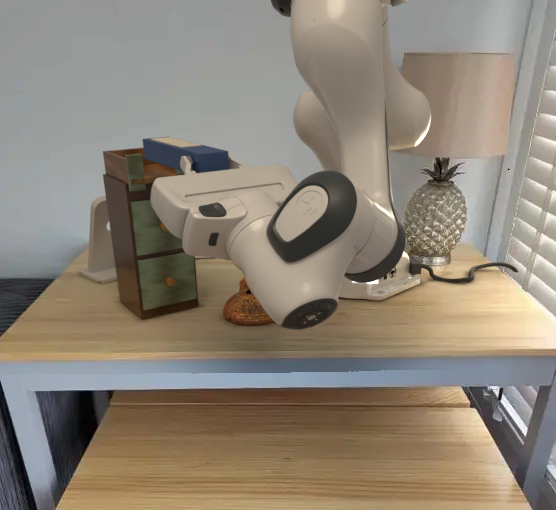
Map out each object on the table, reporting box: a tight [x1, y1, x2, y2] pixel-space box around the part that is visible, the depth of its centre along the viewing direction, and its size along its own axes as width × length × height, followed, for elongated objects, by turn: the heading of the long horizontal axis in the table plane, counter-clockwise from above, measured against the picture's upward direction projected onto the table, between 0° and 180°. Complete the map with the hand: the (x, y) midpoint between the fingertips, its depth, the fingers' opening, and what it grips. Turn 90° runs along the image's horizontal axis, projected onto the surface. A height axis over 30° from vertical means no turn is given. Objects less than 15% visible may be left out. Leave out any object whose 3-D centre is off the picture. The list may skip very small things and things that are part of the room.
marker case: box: [142, 136, 229, 173], centre depth 89 cm, size 4×20×3 cm, turn 33°
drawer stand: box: [102, 147, 200, 321], centre depth 115 cm, size 12×13×30 cm
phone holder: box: [79, 195, 117, 284], centre depth 138 cm, size 17×10×18 cm, turn 136°
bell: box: [222, 276, 275, 326], centre depth 116 cm, size 12×12×7 cm
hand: (203, 157), depth 84 cm, fingers closed on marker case, 4 cm apart
